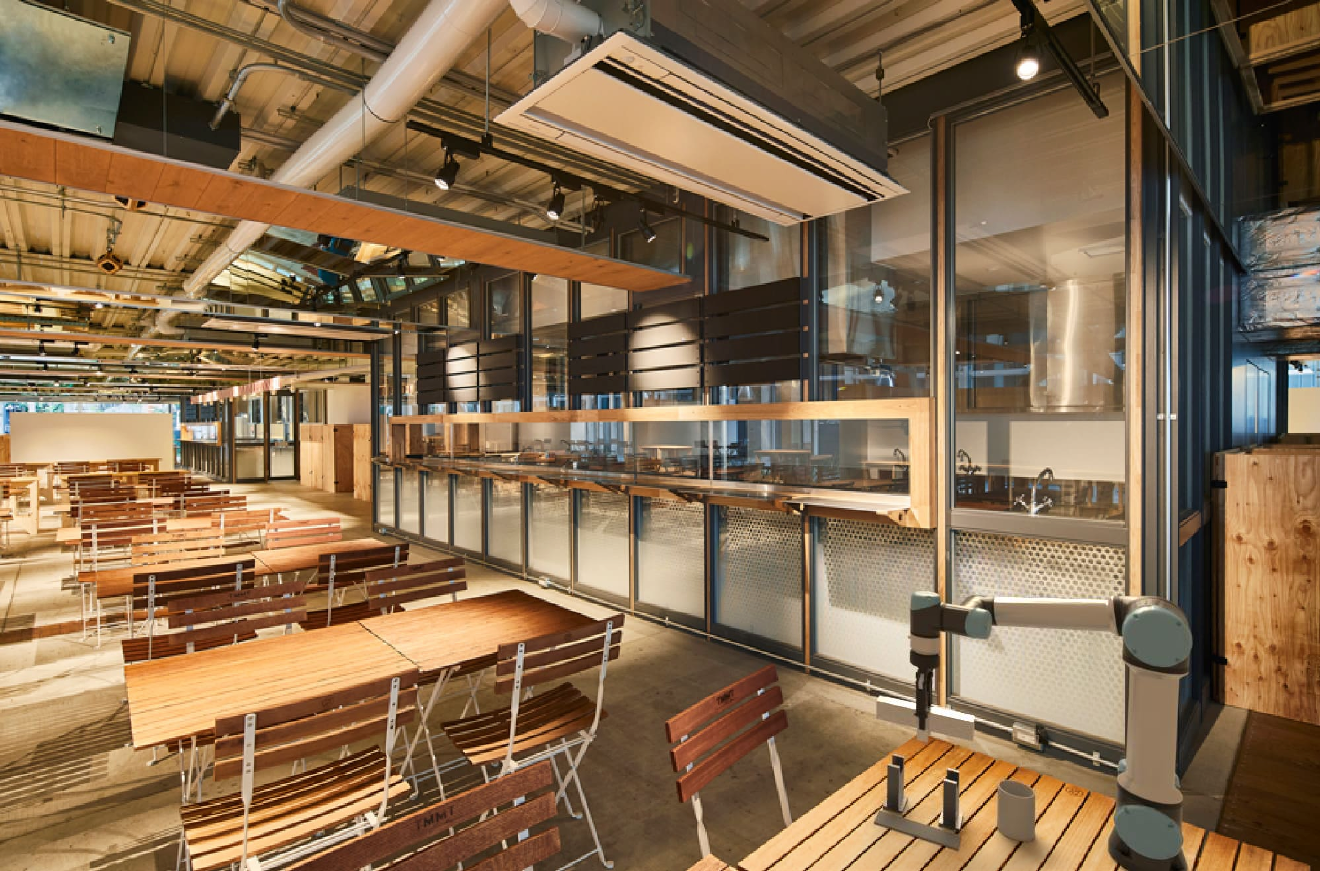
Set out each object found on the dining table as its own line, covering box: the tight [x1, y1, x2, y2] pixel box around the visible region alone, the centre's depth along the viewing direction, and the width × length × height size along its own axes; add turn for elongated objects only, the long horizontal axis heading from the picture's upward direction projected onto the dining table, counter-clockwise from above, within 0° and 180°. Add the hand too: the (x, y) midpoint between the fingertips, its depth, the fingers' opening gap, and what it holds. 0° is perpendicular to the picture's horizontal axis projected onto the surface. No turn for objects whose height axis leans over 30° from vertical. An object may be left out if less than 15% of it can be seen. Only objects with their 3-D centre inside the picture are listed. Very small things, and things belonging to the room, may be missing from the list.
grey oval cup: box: [996, 779, 1036, 842], centre depth 164 cm, size 12×8×11 cm
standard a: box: [938, 767, 964, 833], centre depth 166 cm, size 5×8×12 cm, turn 148°
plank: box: [873, 809, 962, 851], centre depth 162 cm, size 20×6×1 cm, turn 59°
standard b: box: [882, 753, 909, 815], centre depth 174 cm, size 5×8×12 cm, turn 149°
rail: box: [875, 695, 975, 742], centre depth 170 cm, size 24×4×5 cm, turn 59°
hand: (923, 736), depth 170 cm, fingers closed on rail, 4 cm apart
